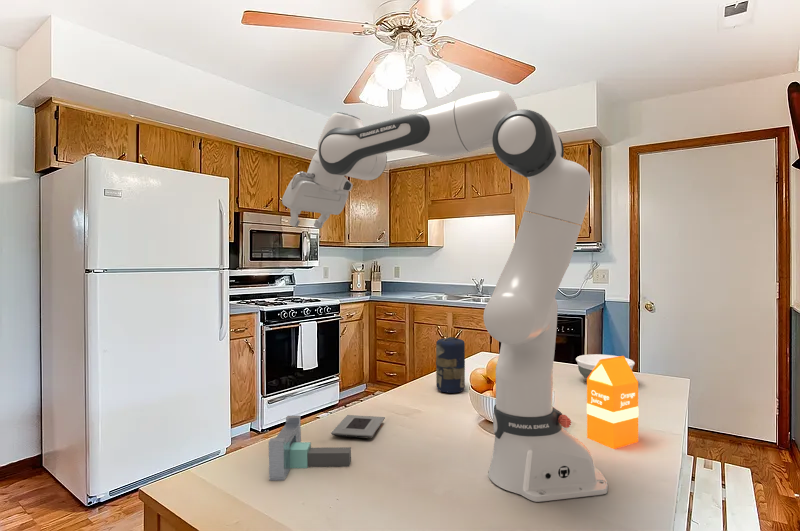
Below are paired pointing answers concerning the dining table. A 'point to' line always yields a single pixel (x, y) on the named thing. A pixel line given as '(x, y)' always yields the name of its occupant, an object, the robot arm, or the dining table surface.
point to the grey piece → (283, 448)
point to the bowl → (594, 362)
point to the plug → (318, 456)
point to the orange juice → (612, 403)
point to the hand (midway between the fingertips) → (305, 226)
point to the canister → (450, 365)
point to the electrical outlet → (358, 426)
